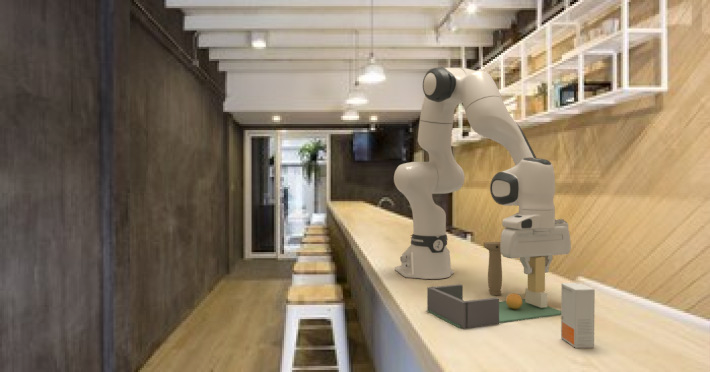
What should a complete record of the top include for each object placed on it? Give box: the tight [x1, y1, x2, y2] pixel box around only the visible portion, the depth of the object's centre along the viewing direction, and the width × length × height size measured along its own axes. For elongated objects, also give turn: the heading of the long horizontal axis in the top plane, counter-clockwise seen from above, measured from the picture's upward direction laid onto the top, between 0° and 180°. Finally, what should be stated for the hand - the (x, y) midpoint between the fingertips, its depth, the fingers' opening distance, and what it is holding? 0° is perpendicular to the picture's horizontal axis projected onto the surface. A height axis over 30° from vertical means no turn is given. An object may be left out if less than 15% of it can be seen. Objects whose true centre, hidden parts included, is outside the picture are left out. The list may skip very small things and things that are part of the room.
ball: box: [505, 292, 523, 309], centre depth 129 cm, size 4×4×4 cm
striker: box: [524, 256, 548, 308], centre depth 132 cm, size 6×3×13 cm, turn 21°
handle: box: [483, 241, 503, 297], centre depth 146 cm, size 5×6×15 cm
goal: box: [426, 283, 500, 330], centre depth 124 cm, size 16×10×6 cm, turn 21°
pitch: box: [426, 298, 561, 329], centre depth 128 cm, size 15×31×1 cm, turn 111°
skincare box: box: [560, 282, 596, 349], centre depth 105 cm, size 6×4×12 cm
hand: (536, 273), depth 132 cm, fingers open, 4 cm apart
